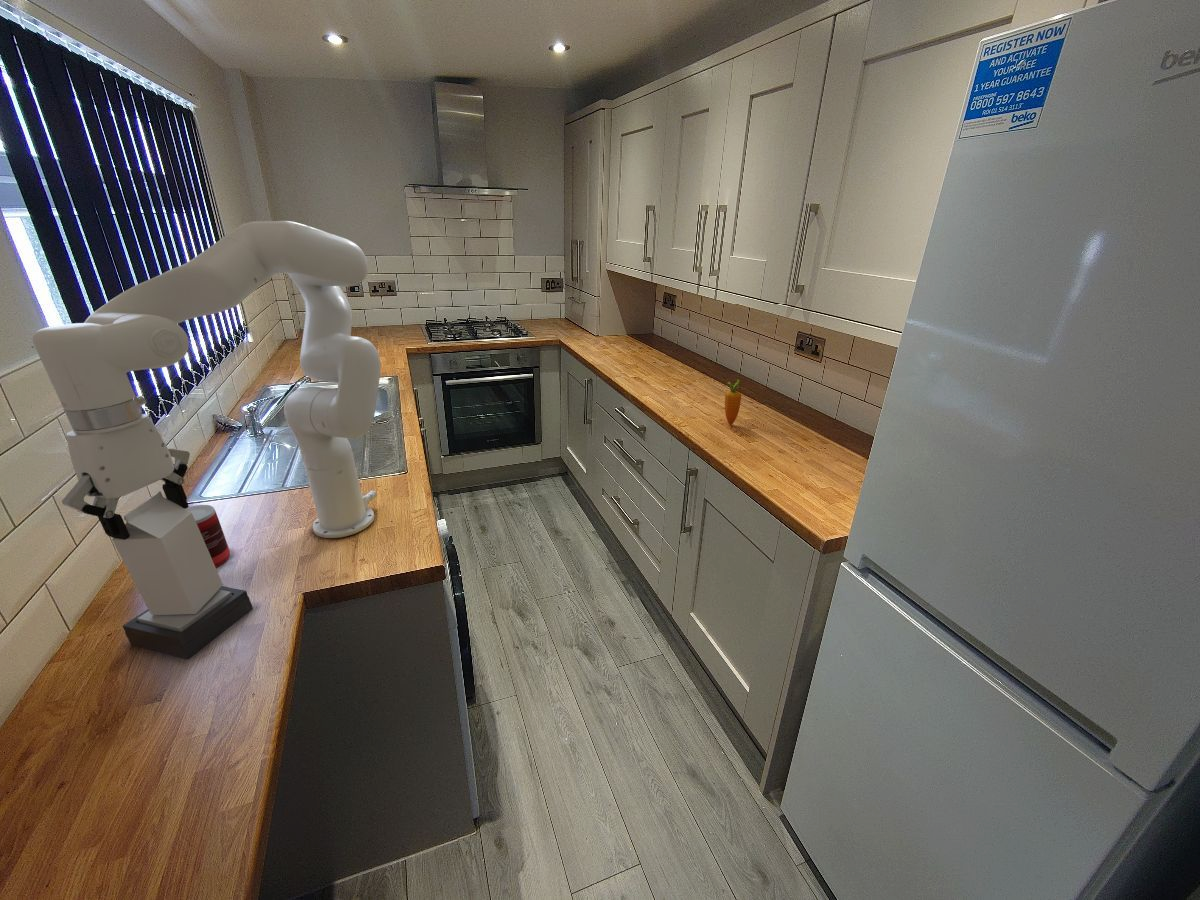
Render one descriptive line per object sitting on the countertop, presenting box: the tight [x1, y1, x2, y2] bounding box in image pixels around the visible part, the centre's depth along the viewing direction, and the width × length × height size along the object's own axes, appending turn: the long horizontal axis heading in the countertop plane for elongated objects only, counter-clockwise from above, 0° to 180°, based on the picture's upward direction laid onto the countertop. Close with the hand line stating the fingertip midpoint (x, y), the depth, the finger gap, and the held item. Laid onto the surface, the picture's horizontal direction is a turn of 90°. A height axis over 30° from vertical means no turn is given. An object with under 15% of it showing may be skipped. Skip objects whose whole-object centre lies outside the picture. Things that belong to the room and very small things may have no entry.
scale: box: [122, 585, 254, 660], centre depth 87 cm, size 12×12×4 cm
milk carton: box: [111, 491, 224, 615], centre depth 83 cm, size 7×7×19 cm
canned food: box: [186, 504, 231, 568], centre depth 103 cm, size 8×8×11 cm
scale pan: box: [137, 590, 232, 633], centre depth 87 cm, size 9×9×2 cm
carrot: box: [724, 379, 742, 426], centre depth 167 cm, size 5×5×15 cm
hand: (151, 521), depth 80 cm, fingers closed on milk carton, 8 cm apart
